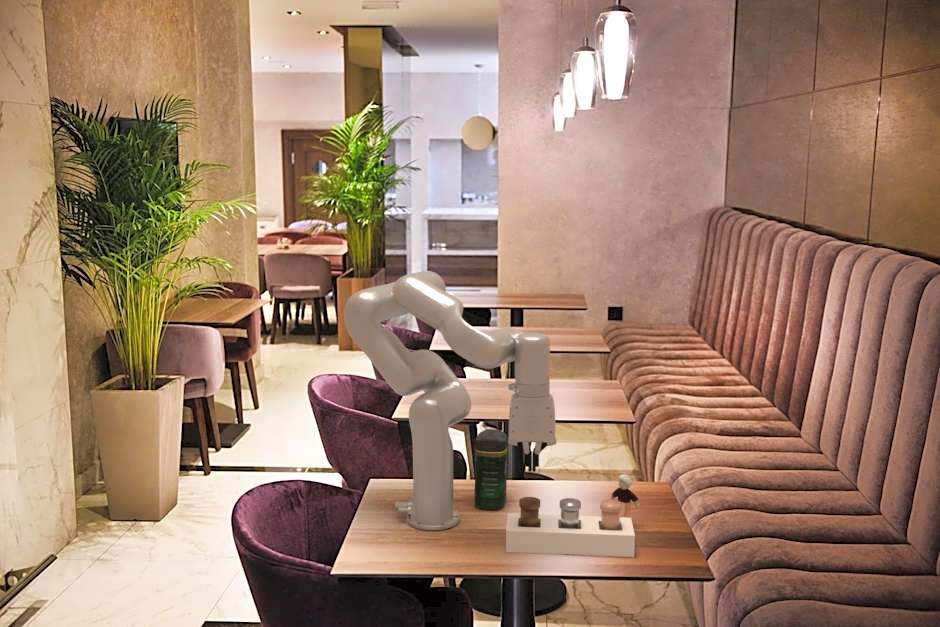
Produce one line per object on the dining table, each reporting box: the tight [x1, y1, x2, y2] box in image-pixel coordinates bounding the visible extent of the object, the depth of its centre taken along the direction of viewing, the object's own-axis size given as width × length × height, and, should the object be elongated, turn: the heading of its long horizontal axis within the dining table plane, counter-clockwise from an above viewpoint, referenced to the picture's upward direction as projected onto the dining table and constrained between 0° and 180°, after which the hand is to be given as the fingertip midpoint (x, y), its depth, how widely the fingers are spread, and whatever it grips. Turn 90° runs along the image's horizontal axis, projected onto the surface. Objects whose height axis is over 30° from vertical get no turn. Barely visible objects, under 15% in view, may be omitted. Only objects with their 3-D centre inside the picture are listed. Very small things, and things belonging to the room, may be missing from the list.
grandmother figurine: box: [609, 473, 641, 518], centre depth 226 cm, size 8×4×13 cm, turn 62°
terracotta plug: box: [599, 499, 622, 530], centre depth 214 cm, size 5×5×6 cm
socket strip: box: [505, 512, 636, 558], centre depth 216 cm, size 28×10×5 cm, turn 85°
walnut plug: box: [518, 496, 541, 527], centre depth 216 cm, size 5×5×6 cm
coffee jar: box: [474, 428, 508, 511], centre depth 239 cm, size 10×8×19 cm
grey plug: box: [559, 497, 582, 529], centre depth 215 cm, size 5×5×6 cm
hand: (532, 469), depth 213 cm, fingers closed
